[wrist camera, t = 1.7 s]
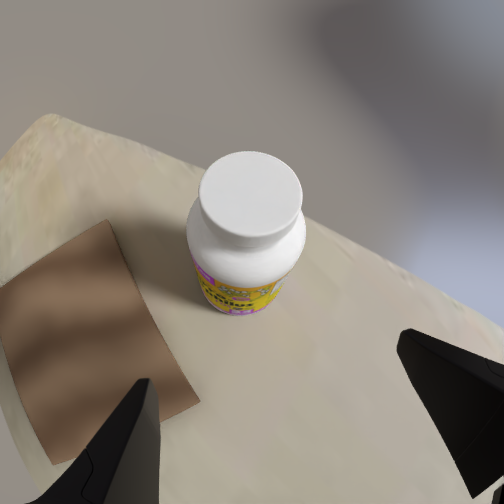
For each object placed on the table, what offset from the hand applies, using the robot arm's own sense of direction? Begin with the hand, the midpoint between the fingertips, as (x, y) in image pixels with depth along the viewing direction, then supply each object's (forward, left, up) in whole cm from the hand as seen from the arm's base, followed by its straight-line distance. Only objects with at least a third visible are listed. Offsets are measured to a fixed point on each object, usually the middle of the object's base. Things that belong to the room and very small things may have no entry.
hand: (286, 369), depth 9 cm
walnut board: (+9, +13, -14) cm, 21 cm away
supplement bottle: (+7, -3, -14) cm, 16 cm away
